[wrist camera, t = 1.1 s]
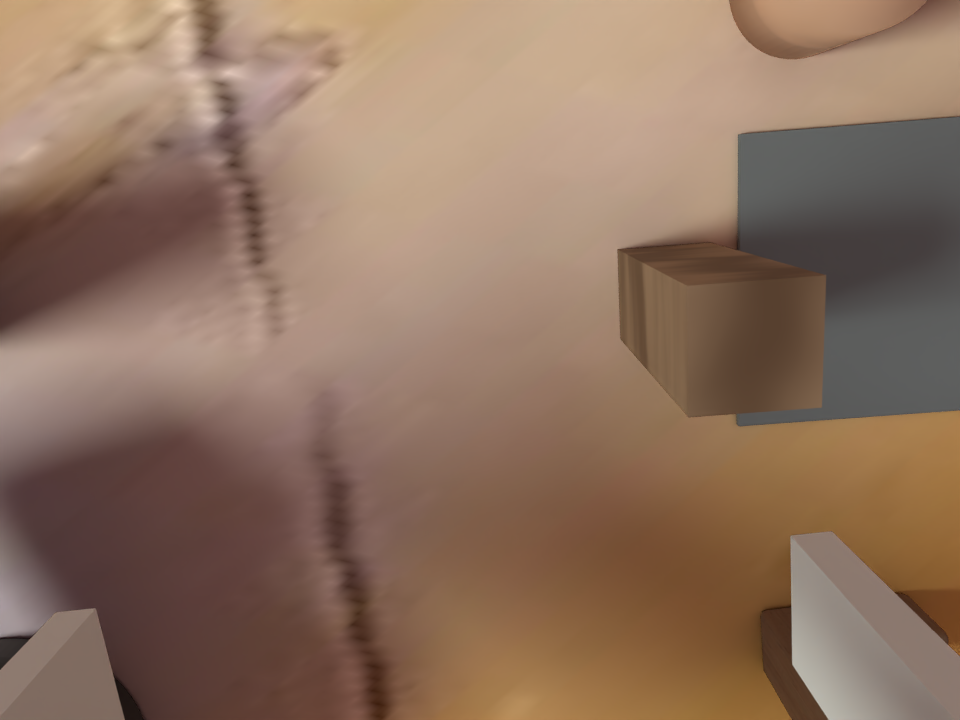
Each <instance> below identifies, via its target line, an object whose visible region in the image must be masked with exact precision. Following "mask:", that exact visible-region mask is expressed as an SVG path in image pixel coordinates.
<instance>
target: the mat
mask: <svg viewBox="0 0 960 720" xmlns="http://www.w3.org/2000/svg"><path fill="white" fill-rule="evenodd" d="M738 250H739V251H742V252H746V253H749V254H753V255H756V256H760V257H763V258H767V259H770V260H774V261H777V262H781V263H785V264H788V265H792V266H795V267H799V268H802V269H806V270H809V271H813V272H816V273H820V274H824V275H826V297H825V327H824V357H823V386H822V408H810V409H797V410H783V411H769V412H755V413H742V414H737V425H738V426H749V425H763V424H777V423H791V422H805V421H818V420H832V419H846V418H860V417H873V416H887V415H901V414H915V413H928V412H942V411H956V410H960V117H951V118H938V119H926V120H913V121H901V122H888V123H876V124H863V125H850V126H838V127H825V128H813V129H800V130H788V131H775V132H763V133H750V134H739V135H738Z"/></svg>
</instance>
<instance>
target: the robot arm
mask: <svg viewBox="0 0 960 720" xmlns="http://www.w3.org/2000/svg"><path fill="white" fill-rule="evenodd" d="M791 611H792V665H793V666H794V668H795V669H796V671H797V672H798V674H799V676H800V677H801V679H802V680H803V682H804V683H805V685H806V686H807V688H808V689H809V691H810V692H811V694H812V695H813V697H814V698H815V700H816V701H817V703H818V704H819V706H820V707H821V709H822V710H823V712H824V713H825V715H826V716H827V718H828V720H960V656H959V655H958V654H957V653H956V652H955V651H954V650H953V649H952V648H951V647H950V646H948V645H947V644H946V643H945V642H944V641H943V640H942V639H941V638H940V637H939V636H938V635H937V634H936V633H935V632H934V631H933V630H932V629H931V628H930V627H929V626H928V625H927V624H926V623H925V622H924V621H923V620H922V619H921V618H920V617H919V616H918V615H917V614H916V613H915V612H914V611H913V610H912V609H911V608H910V607H909V606H908V605H907V604H906V603H905V602H904V601H903V600H901V599H900V598H899V597H898V596H897V595H896V594H895V593H894V592H893V591H892V590H891V589H890V588H889V587H888V586H887V585H886V584H885V583H884V582H883V581H882V580H881V579H880V578H879V577H878V576H877V575H876V574H875V573H874V572H873V571H872V570H871V569H870V568H869V567H868V566H867V565H866V564H865V563H864V562H863V561H862V560H861V559H860V558H859V557H858V556H857V555H856V554H854V553H853V552H852V551H851V550H850V549H849V548H848V547H847V546H846V545H845V544H844V543H843V542H842V541H841V540H840V539H839V538H838V537H837V536H836V535H835V534H834V533H833V532H832V531H829V532H819V533H810V534H800V535H791ZM0 720H143V718H142V715H141V713H140V711H139V709H138V707H137V705H136V704H135V702H134V701H133V699H132V698H131V696H130V695H129V694H128V692H127V691H126V690H125V689H124V688H123V686H122V685H121V684H120V683H119V682H118V681H117V680H116V679H115V678H114V676H113V672H112V669H111V665H110V661H109V657H108V653H107V649H106V645H105V642H104V638H103V634H102V630H101V626H100V622H99V618H98V615H97V611H96V608H92V609H83V610H73V611H63V612H56V613H55V614H54V615H53V616H52V617H51V618H50V619H49V620H48V621H47V622H46V623H45V624H44V625H43V626H42V627H41V628H40V629H39V630H38V631H37V632H36V633H35V635H34V636H33V637H32V638H31V639H30V640H29V639H0Z"/></svg>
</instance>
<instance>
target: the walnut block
mask: <svg viewBox="0 0 960 720" xmlns="http://www.w3.org/2000/svg"><path fill="white" fill-rule="evenodd" d="M618 279H619V309H620V339H621V340H622V341H623V343H624V344H625V345H626V346H627V347H628V348H629V350H630V351H631V352H632V353H633V354H634V355H635V356H636V358H637V359H638V360H639V361H640V362H641V363H642V364H643V366H644V367H645V368H646V369H647V370H648V371H649V373H650V374H651V375H652V376H653V377H654V378H655V379H656V381H657V382H658V383H659V384H660V385H661V386H662V387H663V389H664V390H665V391H666V392H667V393H668V394H669V396H670V397H671V398H672V399H673V400H674V401H675V402H676V404H677V405H678V406H679V407H680V408H681V409H682V410H683V412H684V413H685V414H686V415H687V416H688V417H701V416H714V415H728V414H742V413H755V412H769V411H783V410H797V409H810V408H822V386H823V357H824V327H825V297H826V275H824V274H820V273H816V272H813V271H809V270H806V269H802V268H799V267H795V266H792V265H788V264H785V263H781V262H777V261H774V260H770V259H767V258H763V257H760V256H756V255H753V254H749V253H746V252H742V251H739V250H735V249H731V248H728V247H724V246H721V245H717V244H714V243H710V242H708V243H695V244H682V245H669V246H656V247H643V248H630V249H618Z"/></svg>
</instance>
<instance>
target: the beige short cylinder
mask: <svg viewBox="0 0 960 720" xmlns="http://www.w3.org/2000/svg"><path fill="white" fill-rule="evenodd" d="M729 2H730V8H731V12H732V15H733V18H734V20H735V22H736V25H737V27H738V28H739V30H740V31H741V33H742V35H743V36H744V37H745V38H746V39H747V40H748V42H750V43H751V44H752V45H753V46H754V47H755V48H757V49H759V50H760V51H762V52H764V53H766V54H768V55H770V56H774V57H777V58H783V59H801V58H807V57H810V56H814V55H817V54H819V53H822V52H825V51H827V50H830V49H833V48H836V47H838V46H841V45H844V44H847V43H849V42H852V41H855V40H857V39H860V38H863V37H866V36H868V35H871V34H874V33H877V32H879V31H882V30H885V29H887V28H890V27H892V26H894V25H897V24H898V23H900V22H902V21H904V20H905V19H907V18H908V17H910V16H911V15H912V14H914V13H915V12H916V11H917V10H918V9H919V8H920V7H922V6H923V5H924V4H925V3H926V2H927V0H729Z"/></svg>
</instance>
